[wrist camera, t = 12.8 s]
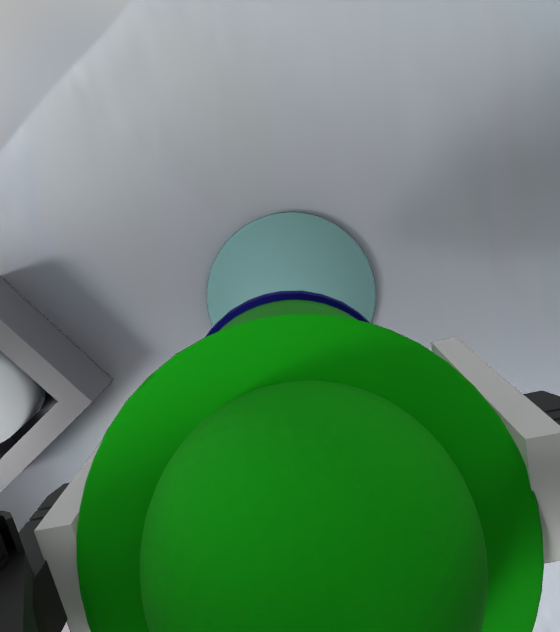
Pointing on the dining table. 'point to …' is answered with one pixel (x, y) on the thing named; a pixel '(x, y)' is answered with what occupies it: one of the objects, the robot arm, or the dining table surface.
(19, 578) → the robot arm
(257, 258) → the pad
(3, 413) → the dome
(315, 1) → the dining table surface
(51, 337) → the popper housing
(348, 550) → the toy
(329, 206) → the dining table surface
